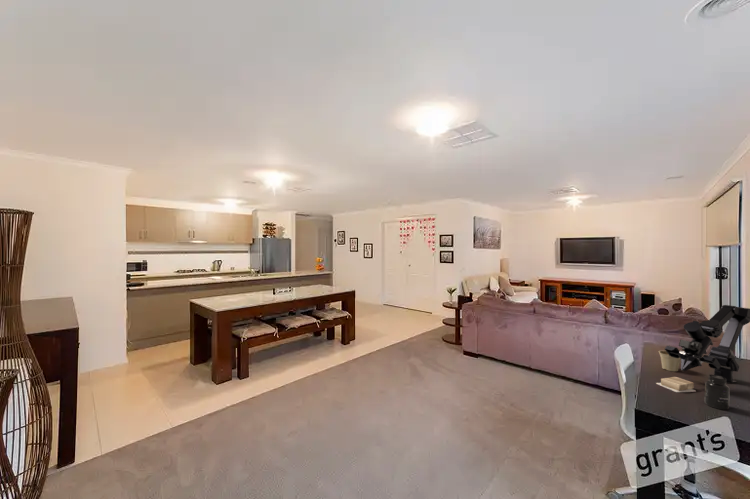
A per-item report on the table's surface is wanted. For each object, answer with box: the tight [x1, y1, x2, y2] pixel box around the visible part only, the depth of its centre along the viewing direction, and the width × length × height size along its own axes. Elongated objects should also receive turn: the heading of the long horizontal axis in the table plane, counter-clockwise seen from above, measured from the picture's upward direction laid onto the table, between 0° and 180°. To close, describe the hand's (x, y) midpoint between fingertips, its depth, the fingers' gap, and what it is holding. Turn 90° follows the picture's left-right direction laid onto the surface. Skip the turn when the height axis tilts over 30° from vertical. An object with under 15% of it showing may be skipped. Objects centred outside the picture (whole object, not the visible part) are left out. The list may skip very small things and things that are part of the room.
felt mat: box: [655, 382, 697, 393], centre depth 145 cm, size 10×9×1 cm
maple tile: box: [660, 376, 695, 391], centre depth 145 cm, size 3×7×10 cm
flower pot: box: [658, 350, 681, 372], centre depth 168 cm, size 9×9×9 cm
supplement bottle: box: [704, 374, 731, 411], centre depth 128 cm, size 7×7×12 cm
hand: (682, 370), depth 146 cm, fingers closed
